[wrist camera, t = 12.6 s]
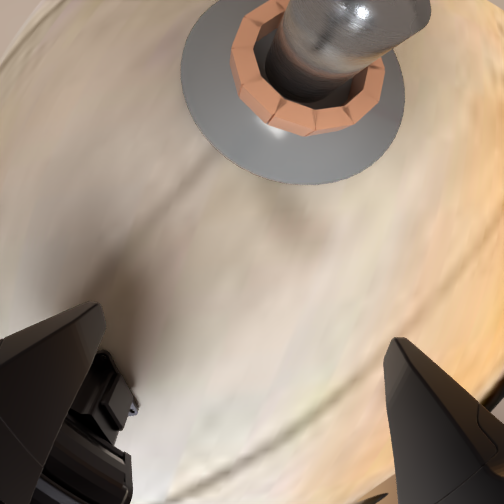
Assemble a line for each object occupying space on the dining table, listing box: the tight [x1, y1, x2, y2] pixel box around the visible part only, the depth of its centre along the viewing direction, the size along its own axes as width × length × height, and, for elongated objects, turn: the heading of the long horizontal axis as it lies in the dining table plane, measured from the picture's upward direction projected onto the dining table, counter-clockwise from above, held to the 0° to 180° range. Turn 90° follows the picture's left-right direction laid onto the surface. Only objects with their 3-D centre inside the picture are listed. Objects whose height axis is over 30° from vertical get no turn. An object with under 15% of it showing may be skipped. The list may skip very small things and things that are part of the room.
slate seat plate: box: [181, 0, 405, 185], centre depth 17 cm, size 16×16×4 cm
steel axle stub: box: [265, 0, 431, 103], centre depth 12 cm, size 5×5×11 cm
